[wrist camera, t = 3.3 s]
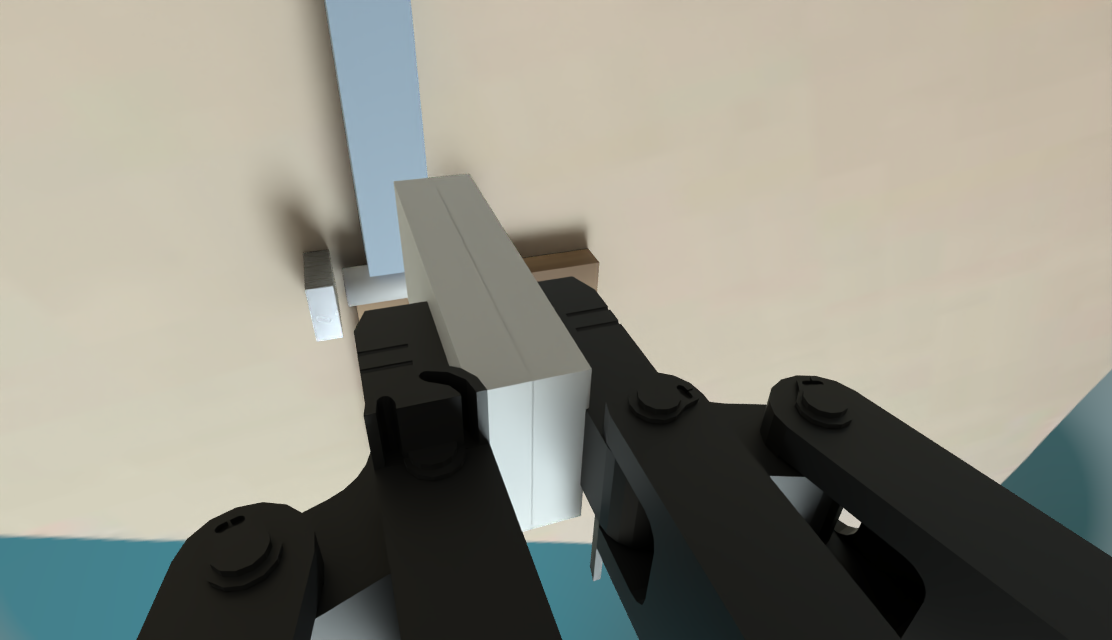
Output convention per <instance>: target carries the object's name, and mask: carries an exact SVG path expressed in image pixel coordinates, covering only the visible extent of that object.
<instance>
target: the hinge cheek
mask: <svg viewBox="0 0 1112 640" xmlns="http://www.w3.org/2000/svg"><path fill="white" fill-rule="evenodd" d="M303 257H304V278H305V292H306V296H307V301H308V305H309V309H310V314H311V318H312V322H313V327H314V331H315V335H316V340H317V341H323V340H329V339H335V338H342V337H343V332H342V324H341V316H340V308H339V300H338V294H337V289H336V284H335V279H334V274H333V269H332V264H331V258H330V253H329V250H323V251H315V252H307V253H303Z"/></svg>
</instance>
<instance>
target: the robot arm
mask: <svg viewBox="0 0 1112 640" xmlns="http://www.w3.org/2000/svg"><path fill="white" fill-rule="evenodd" d="M393 182H394V190H395V198H396V206H397V214H398V223H399V231H400V239H401V247H402V255H403V263H404V271H405V279H406V287H407V295H408V301H409V304H406V305H399V306H393V307H386V308H380V309H374V310H367V311H364V313H363V315H362V317H361V319H360V321H359V322H358V324H357V326H356V328H355V330H354V335H355V342H356V348H357V354H358V361H359V367H360V373H361V380H362V387H363V393H364V399H365V409H364V420H365V425H366V430H367V435H368V441H369V446H370V451H371V452H370V455H369V458H368V461H367V463H366V466H365V467H364V468H363V470H362V471H361V473H360V474H359V475H358V477H357V478H356V479H355V480H354V481H353V482H352V483H351V484H350V485H348V486H347V487H346V488H345V489H344V490H343V491H341V492H339V493H338V494H336V495H335V496H333V497H331V498H330V499H328V500H326V501H324V502H322V503H320V504H318V505H316V506H315V507H313V508H311V509H309V510H307V511H305V512H303V513H301V512H299V511H297V510H296V509H294V508H292V507H290V506H288V505H286V504H276V503H266V502H261V503H256V504H251V505H247V506H242V507H237V508H234V509H232V510H230V511H228V512H226V513H224V514H222V515H220V516H218V517H216V518H213V519H211V520H210V521H208V522H207V523H206V524H205V525H203V526H202V527H201V528H200V529H199V530H197V531H196V532H195V533H194V534H193V535H191V536H190V537H189V538H188V539H187V540H186V541H185V543H184V544H183V546H182V547H181V549H180V550H179V552H178V553H177V555H176V556H175V558H174V559H173V561H172V562H171V564H170V567H169V569H168V571H167V573H166V576H165V578H164V580H163V582H162V584H161V587H160V589H159V591H158V593H157V595H156V598H155V600H154V602H153V604H152V607H151V609H150V611H149V613H148V615H147V618H146V620H145V622H144V624H143V627H142V629H141V631H140V633H139V635H138V638H137V640H562V638H561V635H560V632H559V630H558V627H557V624H556V622H555V619H554V617H553V614H552V611H551V608H550V605H549V603H548V600H547V598H546V595H545V592H544V589H543V587H542V584H541V581H540V578H539V576H538V573H537V570H536V568H535V565H534V562H533V559H532V557H531V554H530V551H529V549H528V546H527V543H526V540H525V538H524V535H523V531H527V530H530V529H534V528H538V527H541V526H545V525H549V524H552V523H556V522H560V521H563V520H567V519H570V518H574V517H578V516H581V506H582V493H583V491H584V493H585V495H586V497H587V500H588V502H589V504H590V506H591V508H592V510H593V512H594V514H595V521H594V531H593V542H592V552H591V563H590V568H591V573H592V577H593V581H595V580H598V579H600V578H601V569H602V561H603V563H604V565H605V567H606V569H607V571H608V574H609V576H610V578H611V580H612V582H613V584H614V586H615V589H616V591H617V593H618V595H619V597H620V600H621V602H622V604H623V606H624V608H625V610H626V612H627V615H628V617H629V619H630V621H631V623H632V625H633V627H634V629H635V631H636V634H637V636H638V638H639V640H1112V557H1111V556H1110V555H1108V554H1106V553H1105V552H1103V551H1102V550H1100V549H1099V548H1097V547H1096V546H1094V545H1093V544H1091V543H1089V542H1088V541H1086V540H1085V539H1083V538H1082V537H1080V536H1079V535H1077V534H1076V533H1074V532H1072V531H1071V530H1069V529H1068V528H1066V527H1064V526H1063V525H1062V524H1060V523H1059V522H1057V521H1055V520H1054V519H1052V518H1051V517H1049V516H1048V515H1046V514H1045V513H1043V512H1042V511H1040V510H1038V509H1037V508H1035V507H1034V506H1032V505H1031V504H1029V503H1028V502H1026V501H1024V500H1023V499H1021V498H1020V497H1018V496H1017V495H1015V494H1014V493H1012V492H1010V491H1009V490H1008V489H1006V488H1004V487H1003V486H1001V485H1000V484H998V483H997V482H995V481H994V480H992V479H991V478H989V477H987V476H986V475H984V474H983V473H981V472H980V471H978V470H977V469H975V468H974V467H972V466H970V465H969V464H967V463H966V462H964V461H963V460H961V459H960V458H958V457H957V456H955V455H953V454H952V453H950V452H949V451H947V450H946V449H944V448H943V447H941V446H940V445H938V444H936V443H935V442H933V441H932V440H930V439H929V438H927V437H926V436H924V435H923V434H921V433H919V432H918V431H916V430H915V429H913V428H912V427H910V426H909V425H907V424H906V423H904V422H902V421H901V420H899V419H898V418H896V417H895V416H893V415H892V414H890V413H889V412H887V411H885V410H884V409H882V408H881V407H879V406H878V405H876V404H875V403H873V402H872V401H870V400H868V399H867V398H865V397H864V396H862V395H861V394H859V393H858V392H856V391H855V390H853V389H851V388H849V387H846V386H844V385H842V384H840V383H838V382H836V381H833V380H829V379H825V378H822V377H818V376H798V375H797V376H793V377H789V378H786V379H782V380H780V381H779V382H778V383H777V384H776V385H775V386H773V387H772V388H771V392H770V395H769V399H768V402H767V405H759V404H724V403H714V402H709V401H708V400H707V398H706V397H705V396H704V395H703V394H702V393H701V392H700V391H699V390H698V389H697V388H695V387H694V386H693V385H692V384H691V383H689V382H687V381H684V380H682V379H680V378H678V377H676V376H673V375H668V374H663V373H658V372H657V371H656V370H655V368H654V367H653V366H652V364H651V363H650V362H649V360H648V359H647V358H646V356H645V355H644V354H643V352H642V351H641V350H640V348H639V347H638V346H637V345H636V343H635V342H634V341H633V339H632V338H631V337H630V335H629V334H628V333H627V331H626V330H625V329H624V327H623V326H622V325H621V324H619V323H618V319H617V318H616V317H615V315H614V314H613V313H612V312H611V310H608V306H607V305H606V304H605V302H604V301H603V300H602V298H601V297H600V296H599V294H598V293H597V292H596V290H595V289H593V288H592V287H590V286H588V285H587V284H585V283H583V282H581V281H580V280H578V279H576V278H575V277H573V276H570V277H564V278H558V279H551V280H545V281H538V282H537V281H536V279H535V278H534V276H533V275H532V273H531V271H530V270H529V268H528V267H527V265H526V263H525V262H524V260H523V259H522V257H521V255H520V254H519V252H518V251H517V249H516V248H515V246H514V244H513V243H512V241H511V240H510V238H509V236H508V235H507V233H506V232H505V230H504V228H503V227H502V225H501V224H500V222H499V220H498V219H497V217H496V216H495V214H494V213H493V211H492V209H491V208H490V206H489V205H488V203H487V201H486V200H485V198H484V197H483V195H482V193H481V192H480V190H479V189H478V187H477V186H476V184H475V182H474V181H473V179H472V178H471V176H470V174H461V175H451V176H441V177H431V178H421V179H411V180H402V181H393ZM843 508H844V509H846V510H847V511H848V512H849V513H850V514H852V515H853V516H854V517H855V518H857V519H858V520H859V521H860V522H861V525H860V527H859V528H853V527H850V526H847V525H846V524H844V523H842V522H841V521H839V520H838V519H839V516H840V514H841V512H842V509H843Z"/></svg>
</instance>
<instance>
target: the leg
mask: <svg viewBox="0 0 1112 640" xmlns="http://www.w3.org/2000/svg"><path fill="white" fill-rule="evenodd" d="M324 3H325V9H326V15H327V22H328V28H329V34H330V40H331V46H332V53H333V59H334V65H335V71H336V78H337V84H338V90H339V96H340V102H341V109H342V115H343V121H344V127H345V133H346V140H347V146H348V152H349V158H350V165H351V171H352V177H353V183H354V189H355V196H356V202H357V208H358V214H359V220H360V227H361V233H362V239H363V245H364V251H365V256H366V260H367V265H363V266H355V267H348V268H342V272H343V278H344V284H345V290H346V295H347V301H348V306H349V307H350V306H357V305H364V304H370V303H377V302H383V301H390V300H396V299H403V298H408V295H407V287H406V279H405V271H404V263H403V255H402V247H401V239H400V231H399V223H398V214H397V206H396V198H395V190H394V182H393V181H402V180H411V179H421V178H428V176H427V166H426V155H425V145H424V134H423V124H422V114H421V103H420V93H419V83H418V72H417V62H416V52H415V41H414V31H413V20H412V10H411V0H324Z"/></svg>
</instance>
